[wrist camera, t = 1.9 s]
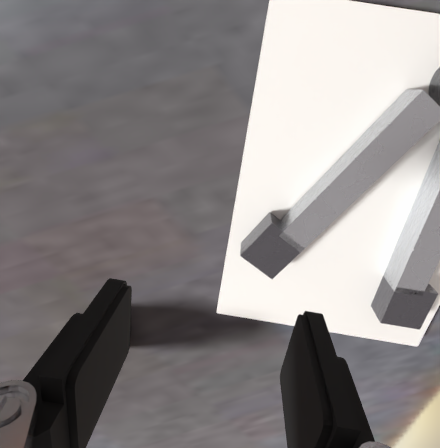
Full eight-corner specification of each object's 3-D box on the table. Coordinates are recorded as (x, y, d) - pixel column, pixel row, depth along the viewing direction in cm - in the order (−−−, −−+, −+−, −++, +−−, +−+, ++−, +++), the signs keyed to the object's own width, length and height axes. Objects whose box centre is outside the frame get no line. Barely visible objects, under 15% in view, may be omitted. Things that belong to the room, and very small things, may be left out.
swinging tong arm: (394, 78, 23) (411, 77, 21) (427, 110, 24) (446, 113, 21) (240, 242, 29) (240, 255, 27) (270, 264, 30) (272, 279, 28)
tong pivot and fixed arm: (442, 49, 22) (471, 44, 19) (526, 62, 22) (569, 58, 19) (347, 301, 31) (357, 324, 28) (407, 311, 31) (423, 335, 28)
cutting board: (270, -6, 23) (271, -12, 22) (561, 38, 23) (581, 35, 21) (217, 303, 34) (216, 313, 33) (410, 336, 34) (417, 346, 33)
